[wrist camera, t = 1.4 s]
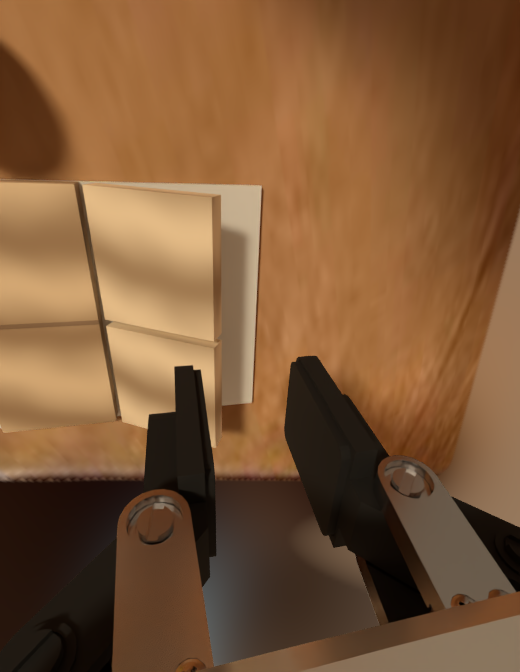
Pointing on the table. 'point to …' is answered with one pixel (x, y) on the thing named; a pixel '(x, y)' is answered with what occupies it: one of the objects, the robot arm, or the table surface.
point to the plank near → (157, 257)
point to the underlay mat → (235, 279)
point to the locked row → (49, 312)
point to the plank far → (162, 372)
